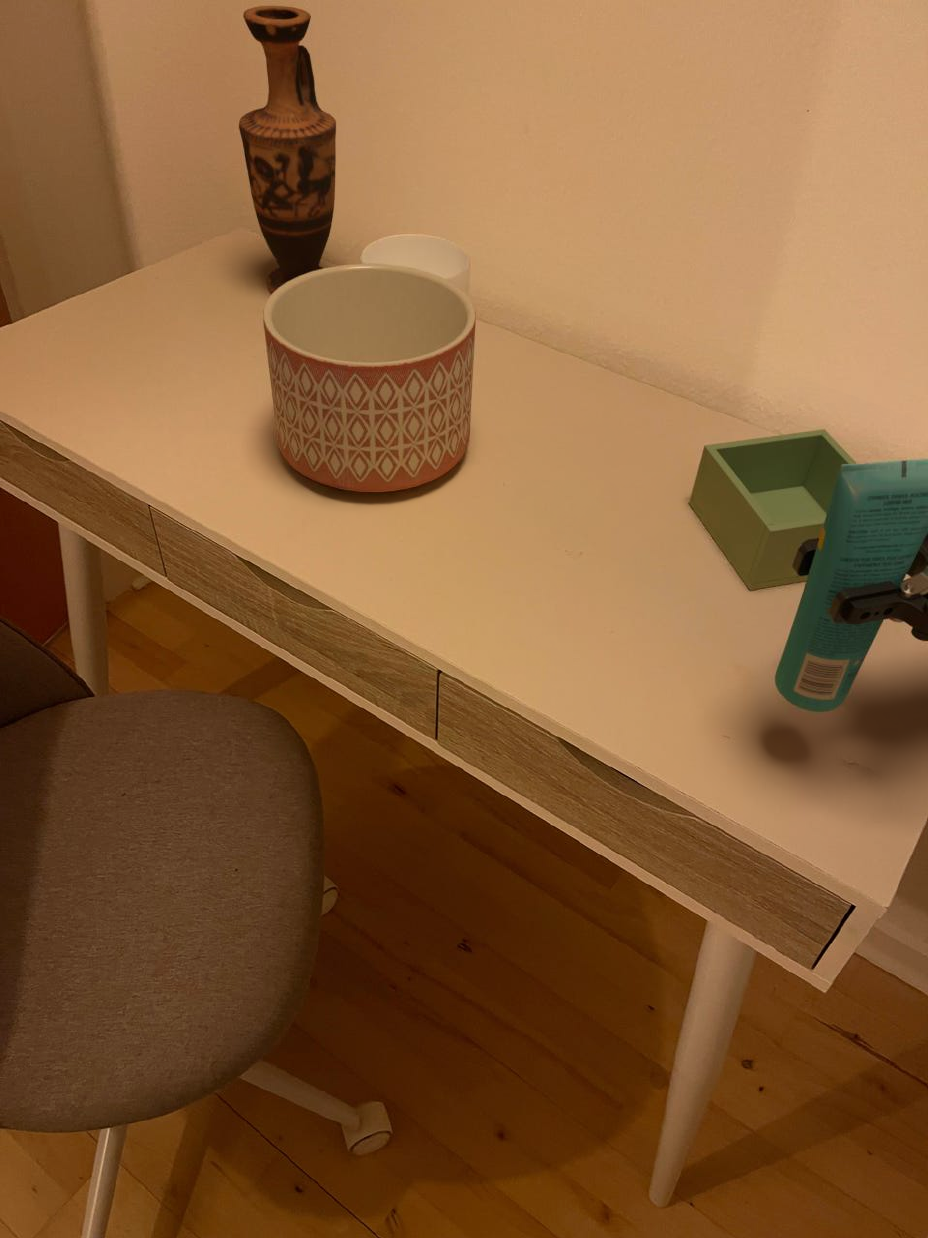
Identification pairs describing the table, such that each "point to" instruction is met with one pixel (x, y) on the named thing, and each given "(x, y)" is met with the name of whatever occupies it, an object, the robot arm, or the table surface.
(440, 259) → the cup
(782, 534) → the basket
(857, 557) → the tube
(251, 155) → the vase
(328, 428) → the planter
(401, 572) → the table surface
